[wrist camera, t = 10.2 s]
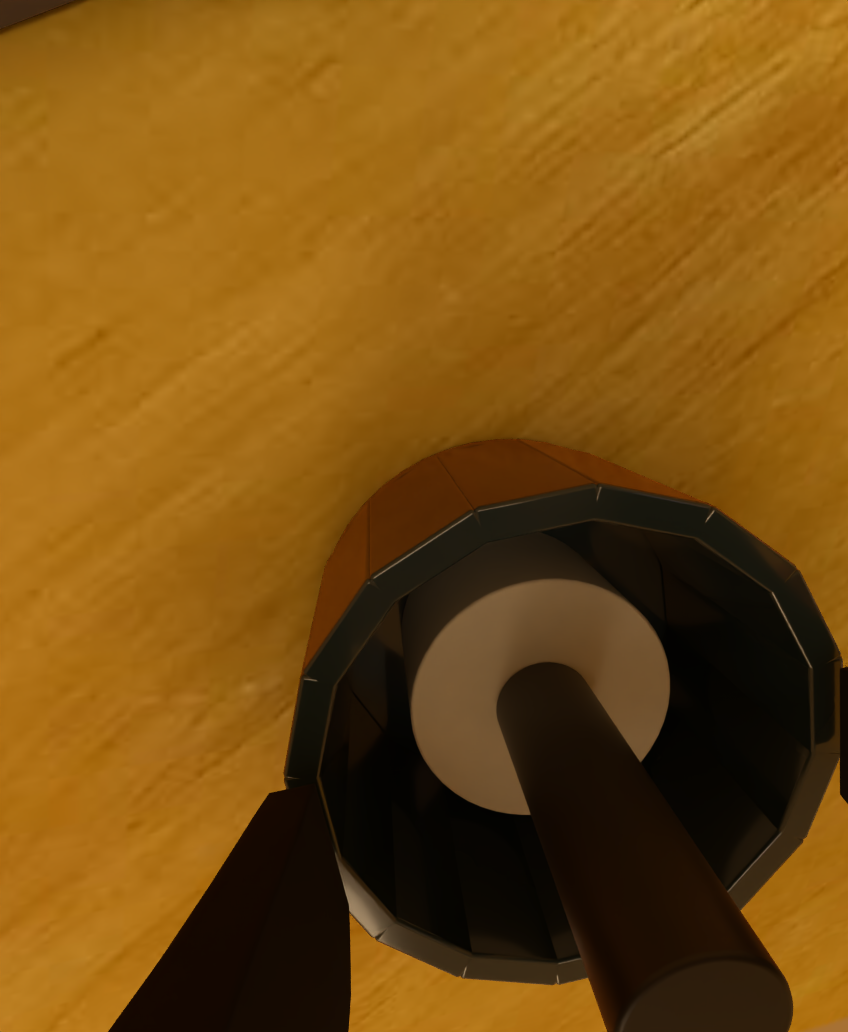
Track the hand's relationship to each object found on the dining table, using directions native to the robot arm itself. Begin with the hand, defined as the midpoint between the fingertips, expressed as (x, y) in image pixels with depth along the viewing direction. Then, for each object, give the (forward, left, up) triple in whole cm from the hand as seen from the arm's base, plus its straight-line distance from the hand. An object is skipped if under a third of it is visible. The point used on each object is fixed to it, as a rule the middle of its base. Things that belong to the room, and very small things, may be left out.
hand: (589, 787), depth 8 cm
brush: (0, 0, -5) cm, 5 cm away
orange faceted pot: (0, 0, -6) cm, 6 cm away
